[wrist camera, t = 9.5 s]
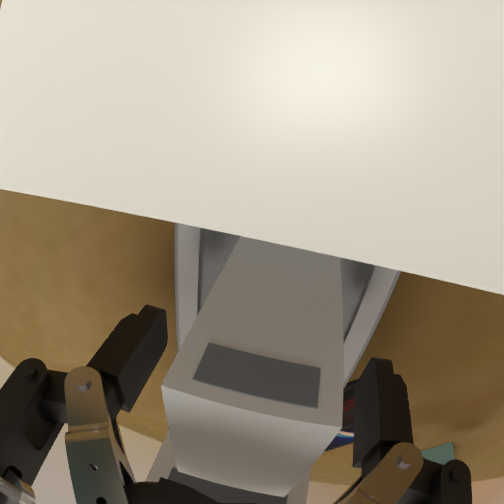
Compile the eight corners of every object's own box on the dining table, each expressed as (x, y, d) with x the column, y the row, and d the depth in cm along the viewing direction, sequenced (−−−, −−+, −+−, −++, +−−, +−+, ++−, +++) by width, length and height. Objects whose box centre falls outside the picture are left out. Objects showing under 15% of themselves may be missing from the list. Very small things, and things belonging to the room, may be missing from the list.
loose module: (341, 249, 13) (345, 426, 6) (307, 351, 16) (285, 497, 9) (243, 228, 13) (158, 383, 6) (230, 334, 16) (176, 471, 9)
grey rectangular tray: (448, 46, 9) (463, 42, 7) (313, 426, 21) (312, 442, 20) (205, 1, 10) (191, -8, 8) (187, 396, 22) (180, 411, 21)
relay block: (452, 440, 20) (449, 464, 23) (391, 456, 23) (398, 477, 25) (457, 486, 16) (453, 503, 18) (391, 502, 18) (398, 515, 21)
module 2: (318, 402, 18) (299, 538, 10) (299, 437, 20) (278, 546, 13) (193, 373, 19) (137, 498, 11) (194, 412, 21) (152, 515, 13)
